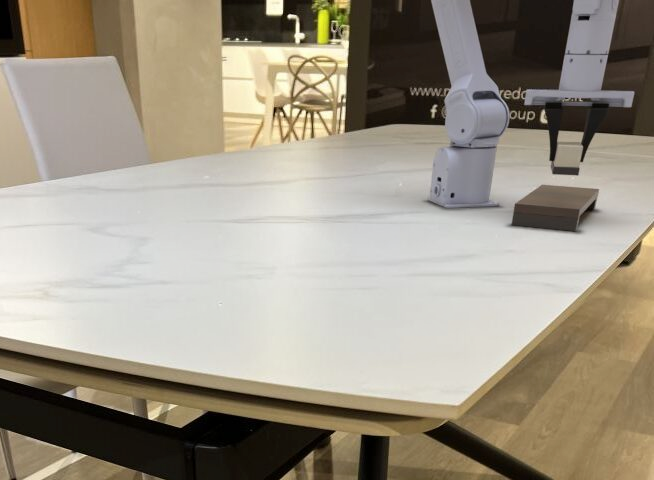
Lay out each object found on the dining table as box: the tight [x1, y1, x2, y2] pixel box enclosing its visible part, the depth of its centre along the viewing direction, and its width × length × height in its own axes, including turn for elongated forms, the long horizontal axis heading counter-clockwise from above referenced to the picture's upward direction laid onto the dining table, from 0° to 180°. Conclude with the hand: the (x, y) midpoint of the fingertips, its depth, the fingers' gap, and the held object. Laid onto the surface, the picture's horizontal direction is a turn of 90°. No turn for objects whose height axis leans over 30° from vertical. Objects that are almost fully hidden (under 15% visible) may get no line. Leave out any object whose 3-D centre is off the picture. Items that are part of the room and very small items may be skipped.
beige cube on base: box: [550, 140, 583, 176], centre depth 110 cm, size 8×4×4 cm, turn 164°
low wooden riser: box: [511, 184, 600, 232], centre depth 114 cm, size 20×9×3 cm, turn 152°
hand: (566, 161), depth 110 cm, fingers closed on beige cube on base, 3 cm apart
